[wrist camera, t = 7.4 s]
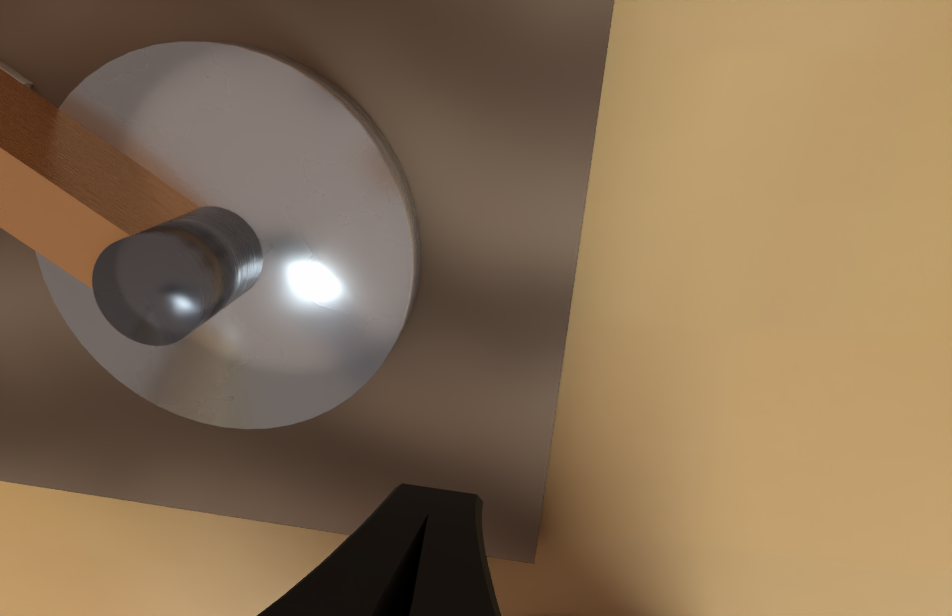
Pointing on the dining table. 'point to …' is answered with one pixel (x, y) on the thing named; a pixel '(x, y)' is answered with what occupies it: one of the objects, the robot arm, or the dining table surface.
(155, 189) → the dial
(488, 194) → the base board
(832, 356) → the dining table surface
